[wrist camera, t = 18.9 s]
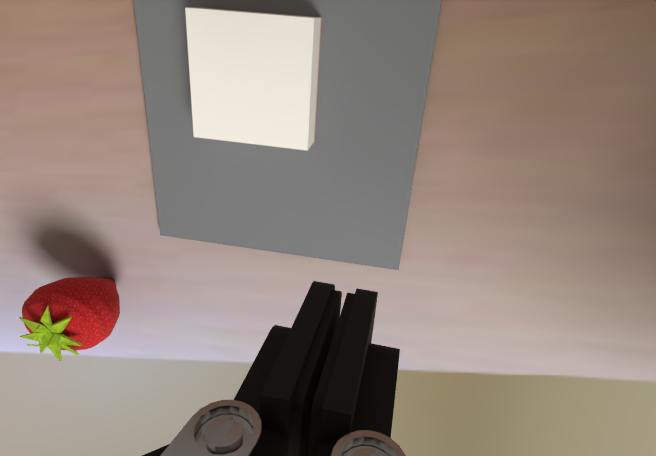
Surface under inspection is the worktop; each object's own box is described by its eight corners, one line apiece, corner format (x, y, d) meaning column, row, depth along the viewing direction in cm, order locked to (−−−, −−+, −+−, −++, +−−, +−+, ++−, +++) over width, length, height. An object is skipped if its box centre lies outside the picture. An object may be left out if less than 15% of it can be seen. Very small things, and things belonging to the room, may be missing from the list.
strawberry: (65, 248, 41) (-31, 314, 32) (141, 256, 40) (63, 326, 31) (80, 302, 44) (-5, 376, 35) (152, 310, 43) (83, 390, 34)
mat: (464, -146, 24) (465, -149, 24) (398, 266, 36) (398, 269, 35) (121, -157, 27) (115, -160, 26) (163, 231, 38) (160, 235, 38)
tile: (314, 18, 26) (185, 7, 27) (307, 150, 30) (193, 137, 31) (321, 17, 28) (201, 7, 29) (314, 141, 32) (207, 128, 33)
